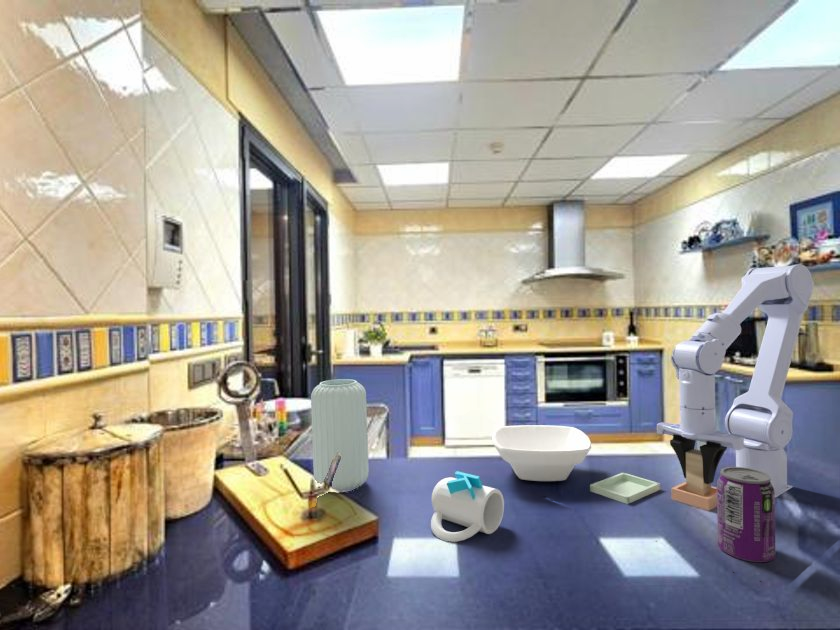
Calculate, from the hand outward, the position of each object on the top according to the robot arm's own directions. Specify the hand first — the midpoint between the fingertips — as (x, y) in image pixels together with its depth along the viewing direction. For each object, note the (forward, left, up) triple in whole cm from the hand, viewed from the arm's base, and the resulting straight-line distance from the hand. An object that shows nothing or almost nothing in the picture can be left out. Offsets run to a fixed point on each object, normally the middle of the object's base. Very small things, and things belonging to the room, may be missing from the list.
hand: (698, 479), depth 91 cm
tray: (+6, -11, -4) cm, 13 cm away
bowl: (+11, -28, -5) cm, 30 cm away
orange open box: (0, 0, -4) cm, 4 cm away
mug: (+41, -21, -5) cm, 46 cm away
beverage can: (+13, +13, -5) cm, 19 cm away
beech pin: (0, 0, -2) cm, 2 cm away
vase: (+48, -50, -5) cm, 70 cm away
